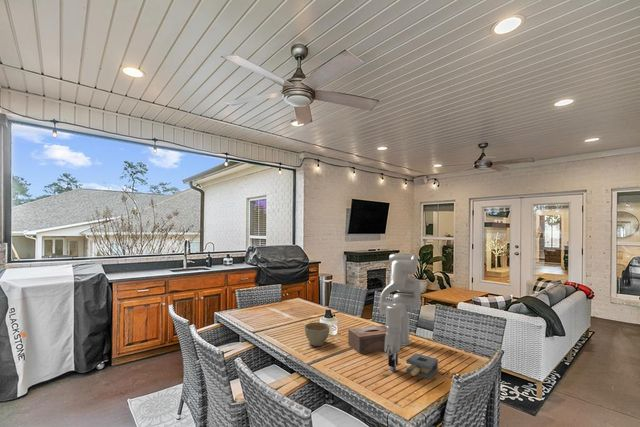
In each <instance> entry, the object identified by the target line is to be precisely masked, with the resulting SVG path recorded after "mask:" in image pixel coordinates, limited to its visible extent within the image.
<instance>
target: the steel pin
mask: <svg viewBox="0 0 640 427" xmlns="http://www.w3.org/2000/svg"><path fill="white" fill-rule="evenodd" d="M390 355H392V354H390ZM394 359H395V367H394V368H393V367H390V366H389V370H390V372H391V373H394V372H397V365H396V353H394Z"/></svg>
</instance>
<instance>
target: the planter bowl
mask: <svg viewBox="0 0 640 427" xmlns="http://www.w3.org/2000/svg"><path fill="white" fill-rule="evenodd" d="M330 328H331V327H330V325H329V324H328V323H325V322H316V321H315V322H309V323H306V324H305V325H304V333H305V336H306V339H307V341H308V342H309V345H310V346H315V347H320V346H323V345H324V344H326V343H325V342H326V341H327V339H328V337H329V335H330Z"/></svg>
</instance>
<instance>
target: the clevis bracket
mask: <svg viewBox="0 0 640 427" xmlns="http://www.w3.org/2000/svg"><path fill="white" fill-rule="evenodd" d="M406 364H409V365H410V366H408V367H406V371H405V372H406V373H409V374H410V375H411V376H412V377H415V376H418V377H422V378H425V379H428V380H431V379H432V378H433V377H434V376H435V374H437V372H438V371H439V367H438V366H439V359H438V358H435V357H431V356H427V355H423V354H420V353H417V352H415V353H414V354H412V355H411V356H410V357H408V358H407V359H406Z"/></svg>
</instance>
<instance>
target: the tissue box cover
mask: <svg viewBox="0 0 640 427" xmlns="http://www.w3.org/2000/svg"><path fill="white" fill-rule="evenodd" d="M385 336H386V325H382V324H381V325H375V326H366V327H365V326H364V327H357V328H349V329H348V336H347V337H348V338H347V339H348V342H347V343H348V344H347V345H348V346H349V347H350V348H352V349H353V350H354V351H355V352H357V353H358V354H365V353H373V352H379V351H384V348H385Z"/></svg>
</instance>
